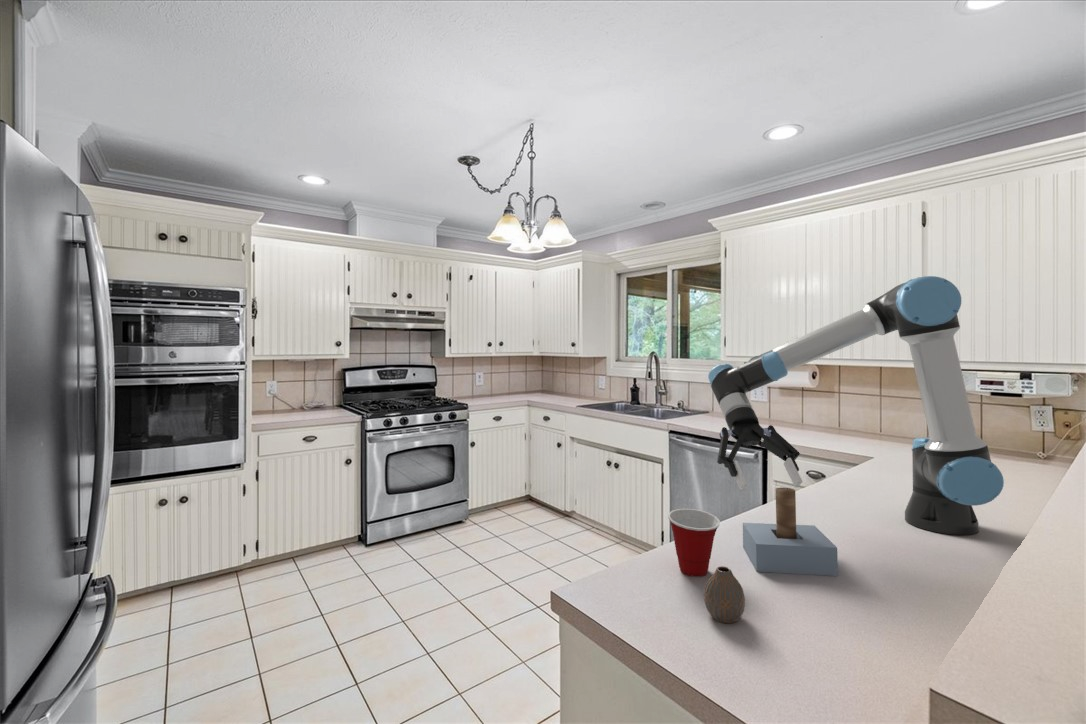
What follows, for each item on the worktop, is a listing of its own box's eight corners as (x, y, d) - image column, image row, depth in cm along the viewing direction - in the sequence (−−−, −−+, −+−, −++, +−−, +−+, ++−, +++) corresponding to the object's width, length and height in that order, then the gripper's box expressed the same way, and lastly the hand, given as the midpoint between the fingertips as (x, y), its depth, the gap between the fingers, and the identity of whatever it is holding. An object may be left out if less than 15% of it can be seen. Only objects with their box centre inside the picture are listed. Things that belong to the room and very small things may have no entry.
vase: (749, 630, 84) (748, 579, 84) (706, 626, 85) (706, 576, 85) (741, 608, 90) (740, 562, 90) (702, 605, 92) (701, 559, 92)
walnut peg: (793, 552, 112) (792, 487, 111) (799, 560, 108) (797, 492, 108) (774, 552, 112) (773, 487, 112) (779, 559, 109) (778, 492, 108)
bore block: (814, 550, 115) (814, 525, 115) (837, 576, 102) (837, 547, 102) (742, 547, 118) (742, 522, 118) (756, 571, 105) (756, 543, 105)
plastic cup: (699, 588, 98) (699, 529, 98) (658, 569, 107) (657, 515, 107) (731, 573, 105) (730, 517, 104) (690, 556, 114) (689, 505, 113)
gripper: (778, 420, 133) (814, 491, 119) (689, 424, 131) (715, 496, 116) (789, 403, 128) (828, 475, 113) (697, 407, 125) (725, 480, 111)
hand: (771, 486), depth 115 cm, fingers open, 13 cm apart
